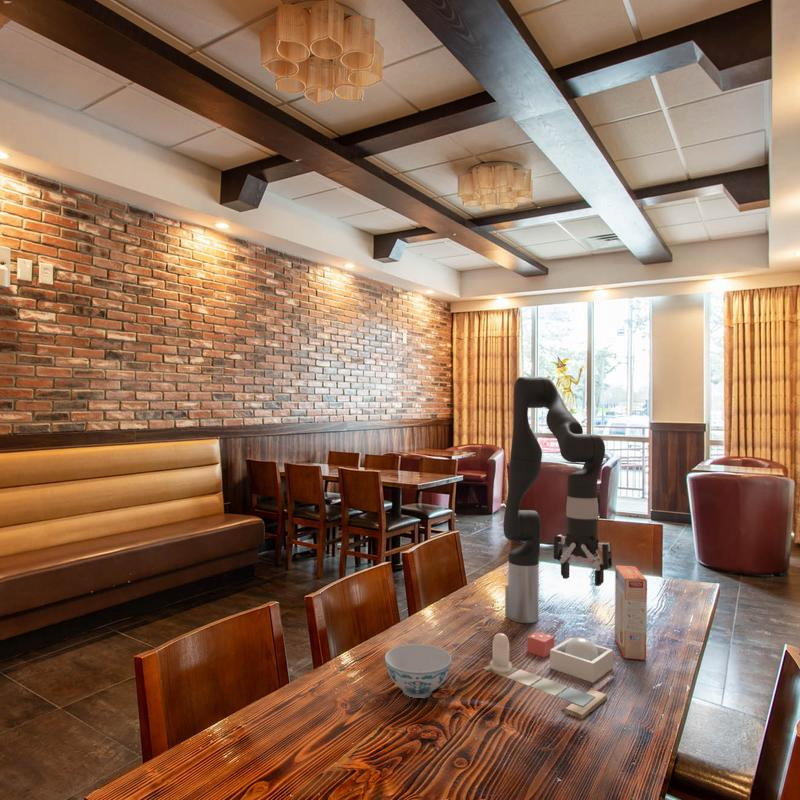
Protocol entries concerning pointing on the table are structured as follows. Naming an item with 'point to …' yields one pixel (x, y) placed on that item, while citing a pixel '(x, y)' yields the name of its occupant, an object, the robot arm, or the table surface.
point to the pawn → (500, 654)
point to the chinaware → (418, 668)
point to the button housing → (582, 663)
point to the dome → (582, 649)
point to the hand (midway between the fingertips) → (581, 581)
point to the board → (580, 700)
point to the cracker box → (630, 612)
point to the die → (540, 644)
